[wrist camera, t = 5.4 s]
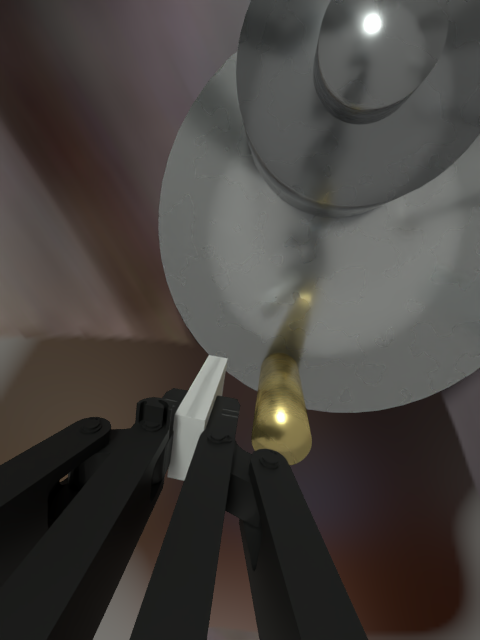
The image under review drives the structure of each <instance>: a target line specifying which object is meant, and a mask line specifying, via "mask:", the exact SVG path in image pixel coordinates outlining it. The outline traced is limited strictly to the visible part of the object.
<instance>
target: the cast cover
mask: <svg viewBox="0 0 480 640" xmlns="http://www.w3.org/2000/svg"><path fill="white" fill-rule="evenodd" d="M236 83H237V95H238V101H239V107H240V112H241V116H242V120H243V124H244V128H245V132H246V136H247V140H248V144H249V148H250V151H251V154H252V158H253V160H254V162H255V165H256V167H257V169H258V171H259V173H260V174H261V176H262V178H263V180H264V181H265V182H266V183H267V185H268V186H269V187H270V188H271V190H272V191H273V192H274V193H275V194H276V195H278V196H279V197H280V198H281V199H282V200H284V201H285V202H286V203H288V204H289V205H291V206H293V207H295V208H297V209H299V210H301V211H304V212H306V213H309V214H313V215H318V216H323V217H346V216H352V215H356V214H361V213H364V212H367V211H369V210H372V209H375V208H377V207H379V206H381V205H384V204H386V203H388V202H390V201H392V200H395V199H397V198H399V197H401V196H404V195H406V194H408V193H410V192H412V191H414V190H416V189H418V188H420V187H422V186H423V185H425V184H427V183H428V182H430V181H431V180H433V179H435V178H436V177H437V176H439V175H440V174H441V173H442V172H444V171H445V170H446V169H447V168H449V167H450V166H451V165H452V164H453V163H454V162H455V161H456V160H457V159H458V158H459V157H460V156H461V155H462V154H463V153H464V152H465V151H466V150H467V149H468V148H469V147H470V145H471V144H472V143H473V142H474V140H475V139H476V138H477V137H478V135H479V134H480V0H251V3H250V5H249V8H248V10H247V13H246V16H245V19H244V23H243V26H242V30H241V34H240V40H239V45H238V51H237V64H236Z"/></svg>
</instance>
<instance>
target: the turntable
mask: <svg viewBox="0 0 480 640" xmlns="http://www.w3.org/2000/svg"><path fill="white" fill-rule="evenodd" d="M236 64H237V52H236V53H234V54H233V55H232V56H231V57H230V58H229V59H228V60H227V61H226V62H225V63H224V64H223V66H222V67H221V68H220V69H219V70H218V71H217V72H216V73H215V75H214V76H213V77H212V78H211V79H210V80H209V81H208V83H207V84H206V86H205V87H204V89H203V90H202V92H201V93H200V95H199V96H198V97H197V99H196V100H195V102H194V103H193V105H192V106H191V108H190V110H189V112H188V114H187V116H186V118H185V120H184V122H183V123H182V125H181V127H180V129H179V131H178V134H177V136H176V139H175V142H174V144H173V147H172V150H171V152H170V155H169V158H168V162H167V166H166V170H165V174H164V178H163V182H162V188H161V196H160V204H159V242H160V251H161V259H162V264H163V268H164V272H165V276H166V280H167V284H168V286H169V289H170V292H171V294H172V297H173V300H174V303H175V305H176V307H177V309H178V311H179V313H180V315H181V316H182V318H183V320H184V322H185V324H186V326H187V327H188V329H189V330H190V331H191V333H192V334H193V336H194V337H195V339H196V340H197V342H198V343H199V344H200V345H201V346H202V348H203V349H204V350H205V351H206V352H207V353H208V354H209V355H211V356H217V357H222V358H228V360H227V367H226V371H227V372H228V373H229V374H231V375H232V376H234V377H235V378H236V379H238V380H239V381H241V382H242V383H243V384H245V385H247V386H248V387H250V388H252V389H254V390H256V391H258V393H257V400H256V407H255V414H254V422H253V430H252V445H253V448H254V450H255V451H256V450H258V449H272V450H274V451H277V452H279V453H280V454H281V455H283V456H284V457H285V458H286V460H287V461H288V463H289V465H294V464H296V463H298V462H300V461H302V460H303V459H304V458H305V457H306V456H307V455H308V453H309V451H310V449H311V445H312V438H311V433H310V427H309V422H308V416H307V411H306V409H309V410H317V411H324V412H336V413H358V412H368V411H378V410H383V409H387V408H393V407H397V406H402V405H405V404H408V403H411V402H414V401H417V400H420V399H423V398H426V397H428V396H431V395H433V394H435V393H437V392H439V391H442V390H444V389H446V388H448V387H450V386H452V385H453V384H455V383H457V382H458V381H460V380H462V379H463V378H465V377H467V376H468V375H470V374H472V373H473V372H474V371H476V370H477V369H478V368H480V134H479V135H478V137H477V138H476V139H475V140H474V142H473V143H472V144H471V145H470V147H469V148H468V149H467V150H466V151H465V152H464V153H463V154H462V155H461V156H460V157H459V158H458V159H457V160H456V161H455V162H454V163H453V164H452V165H451V166H450V167H449V168H447V169H446V170H445V171H444V172H442V173H441V174H440V175H439V176H437V177H436V178H435V179H433V180H431V181H430V182H428V183H427V184H425V185H423V186H422V187H420V188H418V189H416V190H414V191H412V192H410V193H408V194H406V195H404V196H401V197H399V198H397V199H395V200H392V201H390V202H388V203H386V204H384V205H381V206H379V207H377V208H375V209H372V210H369V211H367V212H364V213H361V214H356V215H352V216H346V217H323V216H318V215H313V214H309V213H306V212H304V211H301V210H299V209H297V208H295V207H293V206H291V205H289V204H288V203H286V202H285V201H284V200H282V199H281V198H280V197H279V196H278V195H276V194H275V193H274V192H273V191H272V190H271V188H270V187H269V186H268V185H267V183H266V182H265V181H264V180H263V178H262V176H261V174H260V173H259V171H258V169H257V167H256V165H255V162H254V160H253V158H252V154H251V151H250V148H249V144H248V140H247V136H246V132H245V128H244V124H243V120H242V116H241V112H240V107H239V101H238V95H237V83H236Z"/></svg>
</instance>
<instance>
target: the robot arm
mask: <svg viewBox="0 0 480 640" xmlns="http://www.w3.org/2000/svg"><path fill="white" fill-rule="evenodd" d="M227 360H228V358H222V357H217V356H211V355H209V356H208V358H207V359H206V361H205V363H204V365H203V366H202V368H201V370H200V372H199V373H198V375H197V377H196V378H195V380H194V382H193V384H192V385H191V387H190V389H189V391H186V390H180V389H175V388H173V389H172V390H170V391H168V392H166V393H165V395H164V396H163V398H155V397H152V398H146V399H143V400H141V401H139V402H138V403H137V410H136V421H135V424H134V425H133V426H132V427H131V428H130V429H115V430H114V429H113V430H112V429H111V424H110V422H109V421H108V420H106V419H104V418H100V417H90V418H85V419H82V420H80V421H77V422H75V423H74V424H72V425H70V426H68V427H66V428H65V429H63V430H61V431H60V432H58V433H56V434H54V435H53V436H51V437H49V438H48V439H46V440H44V441H42V442H40V443H39V444H37V445H35V446H33V447H32V448H30V449H28V450H26V451H25V452H23V453H21V454H19V455H18V456H16V457H14V458H12V459H11V460H9V461H7V462H5V463H4V464H2V465H0V640H93V638H94V635H95V633H96V631H97V629H98V627H99V625H100V622H101V620H102V618H103V616H104V614H105V612H106V609H107V607H108V605H109V603H110V601H111V599H112V597H113V594H114V592H115V590H116V588H117V586H118V584H119V581H120V579H121V577H122V575H123V573H124V571H125V568H126V566H127V564H128V562H129V560H130V558H131V555H132V553H133V551H134V549H135V547H136V545H137V542H138V540H139V538H140V536H141V534H142V532H143V530H144V527H145V525H146V523H147V521H148V519H149V517H150V515H151V512H152V510H153V508H154V506H155V504H156V501H157V499H158V497H159V495H160V493H161V491H162V489H163V484H164V477H165V473H166V471H167V469H168V477H170V478H175V479H179V480H184V483H183V486H182V489H181V492H180V495H179V498H178V501H177V503H176V506H175V509H174V512H173V515H172V518H171V521H170V524H169V527H168V530H167V532H166V535H165V538H164V541H163V544H162V547H161V550H160V553H159V556H158V558H157V561H156V564H155V567H154V570H153V574H152V576H151V579H150V582H149V585H148V588H147V590H146V593H145V597H144V599H143V602H142V605H141V608H140V611H139V614H138V617H137V619H136V622H135V625H134V628H133V631H132V634H131V637H130V640H207V634H208V627H209V620H210V612H211V606H212V599H213V591H214V585H215V577H216V571H217V564H218V557H219V549H220V542H221V535H222V528H223V521H224V514H225V511H227V512H229V513H231V514H233V515H234V516H236V517H238V518H239V519H240V520H239V525H240V530H241V536H242V542H243V548H244V553H245V559H246V564H247V570H248V576H249V581H250V587H251V593H252V599H253V605H254V611H255V616H256V622H257V627H258V633H259V639H260V640H368V638H367V636H366V634H365V632H364V629H363V627H362V625H361V623H360V620H359V618H358V616H357V614H356V612H355V609H354V607H353V605H352V603H351V601H350V599H349V596H348V594H347V592H346V589H345V587H344V585H343V583H342V581H341V578H340V576H339V574H338V572H337V570H336V567H335V565H334V563H333V561H332V559H331V556H330V554H329V552H328V550H327V547H326V545H325V543H324V541H323V539H322V536H321V534H320V532H319V530H318V527H317V525H316V523H315V521H314V519H313V517H312V514H311V512H310V510H309V508H308V505H307V503H306V501H305V499H304V497H303V494H302V492H301V490H300V488H299V485H298V483H297V481H296V479H295V477H294V474H293V472H292V470H291V468H290V465H289V463H288V461H287V460H286V458H285V457H284V456H283V455H281V454H280V453H279V452H277V451H274V450H272V449H258V450H256V451H254V452H253V454H250V453H248V452H246V451H244V450H243V449H241V448H240V447H239V446H238V445H237V443H236V441H235V434H236V427H237V421H238V415H239V409H240V404H239V402H238V400H237V399H234V398H228V397H223V396H222V393H223V386H224V379H225V373H226V367H227ZM168 467H169V468H168ZM67 474H68V478H66V479H65V480H64V481H62V482H59V480H60V479H61V478H63V477H64V476H65V475H67Z"/></svg>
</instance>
